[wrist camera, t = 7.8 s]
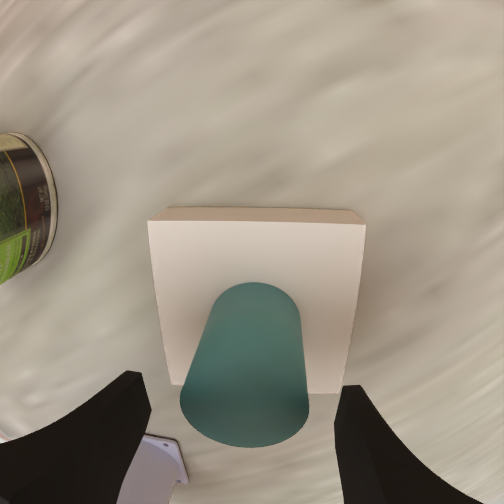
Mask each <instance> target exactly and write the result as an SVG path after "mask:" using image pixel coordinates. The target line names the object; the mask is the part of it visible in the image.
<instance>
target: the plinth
mask: <svg viewBox="0 0 504 504" xmlns="http://www.w3.org/2000/svg"><path fill="white" fill-rule="evenodd" d="M147 224H148V234H149V244H150V253H151V262H152V270H153V278H154V286H155V293H156V300H157V307H158V313H159V320H160V326H161V332H162V338H163V343H164V349H165V354H166V360H167V365H168V370H169V375H170V380H171V384H173V385H181V386H183V385H184V382H185V379H186V377H187V374H188V371H189V369H190V366H191V363H192V360H193V358H194V355H195V352H196V350H197V347H198V344H199V341H200V339H201V336H202V333H203V331H204V328H205V325H206V323H207V320H208V317H209V315H210V312H211V309H212V307H213V305H214V303H215V301H216V300H217V298H218V297H219V296H220V295H221V294H222V293H223V292H224V291H226V290H227V289H229V288H231V287H233V286H235V285H238V284H242V283H248V282H260V283H265V284H269V285H272V286H275V287H277V288H279V289H280V290H282V291H284V292H285V293H286V294H287V295H288V296H289V297H290V298H291V299H292V300H293V301H294V303H295V304H296V306H297V308H298V311H299V314H300V320H301V329H302V338H303V348H304V357H305V368H306V378H307V389H308V394H336V393H340V390H341V386H342V381H343V377H344V372H345V367H346V362H347V357H348V352H349V346H350V341H351V335H352V330H353V324H354V318H355V311H356V305H357V298H358V291H359V284H360V277H361V269H362V261H363V252H364V242H365V232H366V224H365V223H364V222H363V221H362V220H361V219H360V218H359V217H358V216H357V215H356V213H355V212H354V211H353V210H330V209H300V208H252V207H168V208H167V209H165V210H163V211H162V212H160V213H159V214H157V215H155V216H154V217H152V218H151V219H149V220H148V221H147Z"/></svg>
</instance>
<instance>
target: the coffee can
mask: <svg viewBox="0 0 504 504" xmlns="http://www.w3.org/2000/svg"><path fill="white" fill-rule="evenodd" d="M56 224H57V196H56V190H55V185H54V181H53V177H52V173H51V170H50V167H49V165H48V163H47V161H46V159H45V157H44V155H43V153H42V152H41V150H40V149H39V148H38V146H37V145H36V144H35V143H34V142H33V141H32V140H31V139H29V138H28V137H26V136H24V135H22V134H19V133H13V132H9V133H3V134H0V285H1V284H2V283H4V282H5V281H7V280H8V279H10V278H12V277H13V276H15V275H16V274H18V273H20V272H22V271H23V270H25V269H26V268H28V267H30V266H33V265H35V264H36V263H38V262H39V261H40V260H41V259H42V258H43V257H44V256H45V255H46V253H47V252H48V250H49V248H50V246H51V243H52V240H53V238H54V234H55V230H56Z"/></svg>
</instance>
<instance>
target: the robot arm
mask: <svg viewBox="0 0 504 504" xmlns="http://www.w3.org/2000/svg"><path fill="white" fill-rule="evenodd" d="M151 411H152V409H151V406H150V402H149V399H148V396H147V392H146V388H145V385H144V381H143V377H142V373H140V372H134V371H128V370H127V371H125V372H124V373H123V374H121V375H120V376H119V377H117V378H116V379H115V380H114V381H112V382H111V383H110V384H109V385H107V386H106V387H105V388H104V389H102V390H101V391H100V392H98V393H97V394H96V395H94V396H93V397H92V398H91V399H89V400H88V401H87V402H85V403H84V404H82V405H81V406H79V407H78V408H76V409H75V410H73V411H72V412H70V413H69V414H67V415H66V416H64V417H63V418H61V419H59V420H57V421H56V422H54V423H52V424H50V425H48V426H46V427H44V428H42V429H40V430H38V431H35V432H33V433H31V434H28V435H26V436H23V437H21V438H18V439H15V440H12V441H8V442H5V443H1V444H0V504H169V501H170V498H171V495H172V492H173V488H174V485H175V482H176V483H182V484H188V482H189V479H188V476H187V473H186V470H185V467H184V464H183V460H182V457H181V454H180V451H179V447H178V444H177V442H175V441H173V440H169V439H163V438H158V437H153V436H148V435H144V434H145V431H146V428H147V425H148V421H149V418H150V414H151ZM334 432H335V449H336V455H337V461H338V467H339V472H340V478H341V484H342V491H343V497H344V504H483V503H481V502H479V501H477V500H475V499H473V498H471V497H469V496H467V495H465V494H464V493H462V492H460V491H459V490H457V489H456V488H454V487H452V486H451V485H450V484H448V483H447V482H445V481H444V480H443V479H441V478H440V477H439V476H437V475H436V474H435V473H433V472H432V471H431V470H430V469H429V468H428V467H426V466H425V465H424V464H423V463H422V462H421V461H420V460H419V459H418V458H417V457H416V456H415V455H414V454H413V453H412V452H411V451H410V450H409V449H408V448H407V447H406V446H405V445H404V444H403V442H402V441H401V440H400V439H399V438H398V437H397V436H396V434H395V433H394V432H393V431H392V429H391V428H390V427H389V425H388V424H387V423H386V421H385V420H384V419H383V418H382V416H381V415H380V413H379V412H378V411H377V409H376V408H375V406H374V405H373V403H372V402H371V400H370V399H369V397H368V396H367V394H366V393H365V391H364V390H363V388H362V387H361V386H360V385H349V386H343V388H342V392H341V397H340V401H339V405H338V409H337V413H336V417H335V421H334Z"/></svg>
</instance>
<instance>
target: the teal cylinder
mask: <svg viewBox="0 0 504 504" xmlns="http://www.w3.org/2000/svg"><path fill="white" fill-rule="evenodd" d="M180 405H181V409H182V412H183V414H184V416H185V418H186V419H187V420H188V422H189V423H190V424H191V425H192V426H193V427H194V428H195V429H196V430H197V431H199V432H200V433H202V434H203V435H205V436H207V437H208V438H210V439H212V440H215V441H217V442H220V443H223V444H227V445H231V446H236V447H246V448H255V447H264V446H270V445H274V444H277V443H280V442H282V441H284V440H287V439H288V438H290V437H292V436H293V435H295V434H296V433H297V432H298V431H299V430H300V429H301V428H302V427H303V425H304V424H305V422H306V420H307V418H308V414H309V400H308V389H307V378H306V368H305V357H304V348H303V338H302V329H301V320H300V314H299V311H298V308H297V306H296V304H295V303H294V301H293V300H292V299H291V298H290V297H289V296H288V295H287V294H286V293H285V292H284V291H282V290H280V289H279V288H277V287H275V286H272V285H269V284H265V283H260V282H248V283H242V284H238V285H235V286H233V287H231V288H229V289H227V290H226V291H224V292H223V293H222V294H221V295H220V296H219V297H218V298H217V300H216V301H215V303H214V305H213V307H212V309H211V312H210V315H209V317H208V320H207V323H206V325H205V328H204V331H203V333H202V336H201V339H200V341H199V344H198V347H197V350H196V352H195V355H194V358H193V360H192V363H191V366H190V369H189V371H188V374H187V377H186V379H185V382H184V385H183V388H182V390H181V394H180Z"/></svg>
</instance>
